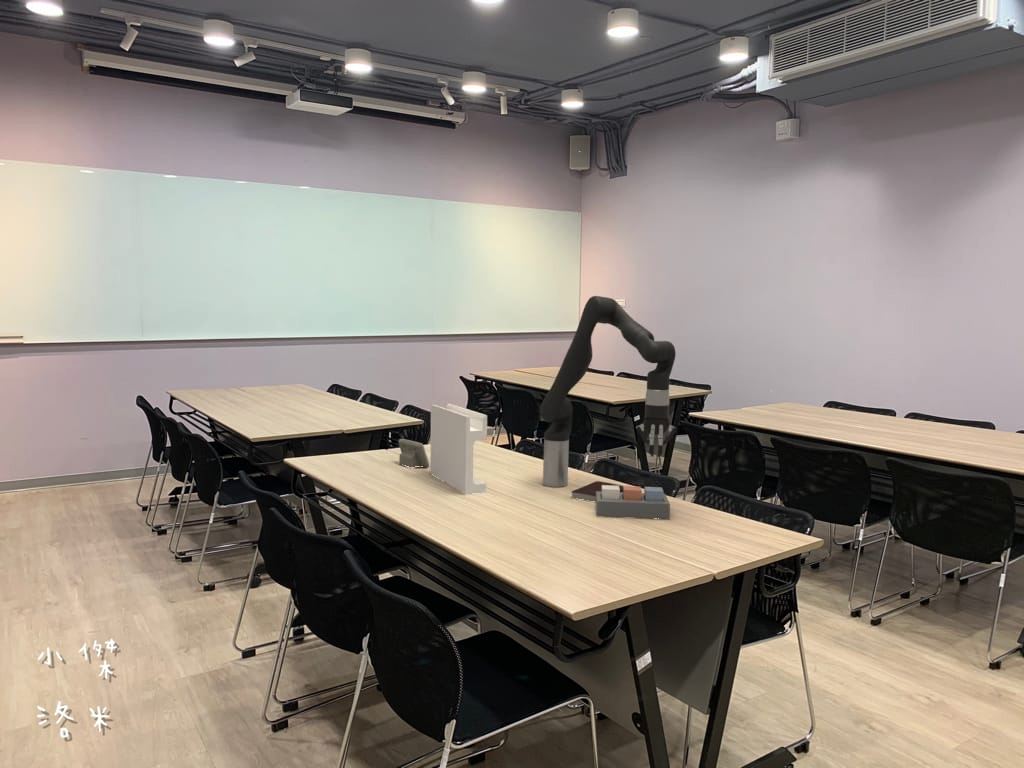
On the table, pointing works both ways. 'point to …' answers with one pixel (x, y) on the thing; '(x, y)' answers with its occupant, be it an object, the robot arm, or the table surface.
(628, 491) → the key terracotta
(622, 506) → the console
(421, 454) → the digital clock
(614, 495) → the key white
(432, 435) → the block
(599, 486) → the book
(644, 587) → the table surface
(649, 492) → the key blue
